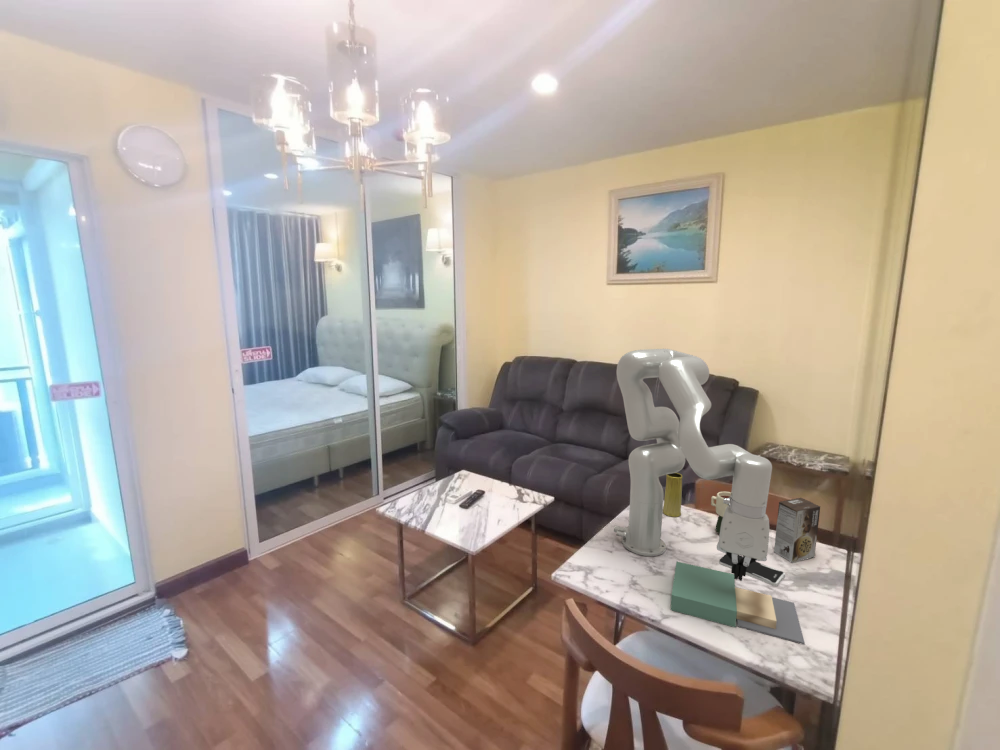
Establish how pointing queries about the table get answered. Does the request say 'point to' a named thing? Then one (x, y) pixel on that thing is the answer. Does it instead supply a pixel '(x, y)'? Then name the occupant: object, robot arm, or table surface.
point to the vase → (673, 495)
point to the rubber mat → (780, 622)
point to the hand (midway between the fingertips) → (737, 576)
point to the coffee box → (796, 529)
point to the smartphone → (758, 571)
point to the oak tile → (755, 608)
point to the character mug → (720, 507)
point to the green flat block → (704, 593)
